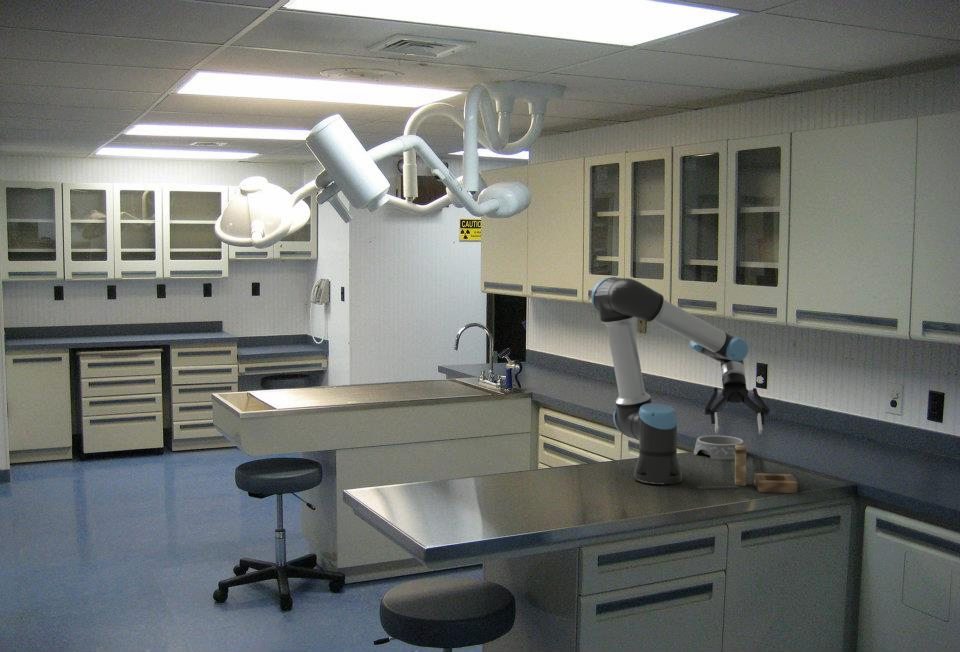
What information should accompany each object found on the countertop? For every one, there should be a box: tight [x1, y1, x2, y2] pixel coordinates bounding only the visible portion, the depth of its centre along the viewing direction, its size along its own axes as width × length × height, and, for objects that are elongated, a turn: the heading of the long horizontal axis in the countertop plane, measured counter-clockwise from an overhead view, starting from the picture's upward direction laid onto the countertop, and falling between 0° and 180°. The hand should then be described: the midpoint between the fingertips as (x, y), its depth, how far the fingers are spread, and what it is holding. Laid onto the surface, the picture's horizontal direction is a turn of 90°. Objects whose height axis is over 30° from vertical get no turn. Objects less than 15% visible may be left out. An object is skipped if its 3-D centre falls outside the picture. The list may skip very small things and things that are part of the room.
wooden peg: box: [734, 444, 747, 487], centre depth 282 cm, size 3×3×12 cm
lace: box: [698, 485, 740, 490], centre depth 278 cm, size 12×1×1 cm, turn 90°
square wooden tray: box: [753, 472, 798, 494], centre depth 278 cm, size 11×11×3 cm
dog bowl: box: [693, 434, 745, 461], centre depth 324 cm, size 17×18×5 cm
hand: (738, 432), depth 291 cm, fingers open, 13 cm apart
